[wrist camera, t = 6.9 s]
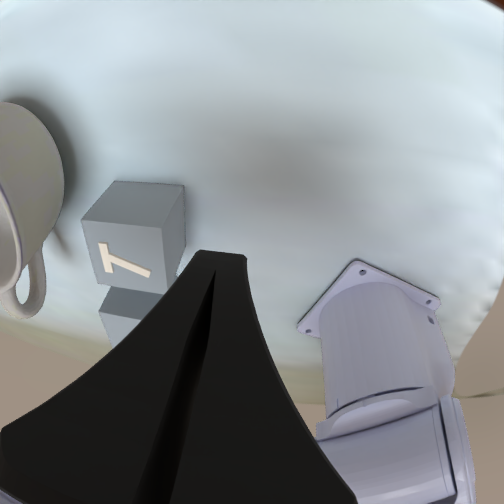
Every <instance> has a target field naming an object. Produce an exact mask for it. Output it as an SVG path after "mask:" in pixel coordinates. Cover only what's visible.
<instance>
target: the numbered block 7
mask: <svg viewBox="0 0 504 504" xmlns="http://www.w3.org/2000/svg"><path fill="white" fill-rule="evenodd" d="M81 223H82V228H83V232H84V236H85V240H86V244H87V248H88V251H89V255H90V259H91V262H92V266H93V269H94V273H95V276H96V279H97V283H98V284H103V285H109V286H114V287H120V288H126V289H132V290H139V291H145V292H151V293H158V294H165V293H166V292H167V291H168V289H169V288H170V287H171V286H172V283H173V280H174V277H175V275H176V272H177V269H178V266H179V263H180V261H181V258H182V255H183V252H184V250H185V247H186V244H185V213H184V185H172V184H159V183H144V182H129V181H114V182H113V183H112V184H111V185H110V187H109V188H108V189H107V190H106V191H105V192H104V193H103V194H102V195H101V197H100V198H99V199H98V200H97V201H96V202H95V204H94V205H93V206H92V207H91V208H90V209H89V211H88V212H87V213H86V214H85V215H84V217H83V218H82V219H81Z"/></svg>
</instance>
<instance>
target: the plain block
mask: <svg viewBox="0 0 504 504" xmlns="http://www.w3.org/2000/svg"><path fill="white" fill-rule="evenodd" d="M177 278H178V276H175V277H174V280H173V283H174V282H175V281H176V279H177ZM173 283H172V284H173ZM163 295H164V294H158V293H151V292H145V291H139V290H132V289H126V288H120V287H114V286H111V288H110V290H109V292H108V293H107V295H106V297H105V299H104V301H103V303H102V306H101V308H100V310H99V315H100V317H101V320H102V322H103V325H104V328H105V330H106V333H107V335H108V338H109V340H110V342H111V345H112V347H113V348H114V347H115V346H116V345H117V344H118V343H120V342H121V341H122V340H123V339H124V338H125V337H126V336H127V335H128V334H129V333H130V332H131V331H132V330H133V329H134V328H135V327H136V326H137V325H138V323H139V322H140V321H141V320H142V319H143V318H144V317H145V316H146V315H147V314H148V313H149V311H150V310H151V309H152V308H153V307H154V306H155V305H156V304H157V303H158V301H159V300H160V299H161V298H162V297H163Z"/></svg>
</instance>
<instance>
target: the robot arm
mask: <svg viewBox="0 0 504 504" xmlns="http://www.w3.org/2000/svg"><path fill="white" fill-rule="evenodd" d="M361 270H364V271H362V272H361ZM440 305H441V301H440V299H439V298H437V297H435V296H433V295H431V294H429V293H427V292H425V291H423V290H420V289H418V288H416V287H414V286H412V285H410V284H408V283H406V282H404V281H402V280H399V279H397V278H395V277H393V276H391V275H389V274H387V273H385V272H382V271H380V270H378V269H376V268H374V267H372V266H369V265H367V264H365V263H363V262H361V261H354V262H352V263H351V264H350V265H349V266H348V267H347V268H346V270H345V271H344V272H343V273H342V274H341V276H340V277H339V278H338V279H337V280H336V281H335V283H334V284H333V285H332V286H331V287H330V288H329V290H328V291H327V292H326V293H325V294H324V295H323V297H322V298H321V299H320V300H319V301H318V302H317V303H316V304H315V306H314V307H313V308H312V309H311V310H310V311H309V312H308V313H307V315H306V316H305V317H304V318H303V319H302V320H301V321H300V322H299V323H298V325H297V331H298V332H300V333H303V334H306V335H309V336H313V337H316V338H319V339H321V348H322V360H323V374H324V388H325V405H326V420H325V421H322V422H318V423H317V424H316V437H313V436H312V434H311V432H310V431H309V429H308V427H307V425H306V424H305V422H304V420H303V419H302V417H301V415H300V413H299V412H298V410H297V408H296V407H295V405H294V403H293V401H292V399H291V397H290V395H289V393H288V391H287V389H286V387H285V385H284V383H283V381H282V379H281V377H280V375H279V373H278V370H277V368H276V366H275V364H274V361H273V359H272V357H271V354H270V352H269V349H268V347H267V344H266V341H265V338H264V336H263V333H262V330H261V327H260V324H259V321H258V318H257V314H256V310H255V307H254V303H253V300H252V295H251V291H250V286H249V281H248V274H247V258H246V257H245V256H244V255H242V254H233V253H225V252H216V251H208V250H199V251H197V252H196V253H195V255H194V256H193V258H192V259H191V261H190V262H189V263H188V265H187V266H186V268H185V269H184V270H183V272H182V273H181V274H180V276H179V277H178V278H177V279H176V281H175V282H174V283H173V284H172V286H171V287H170V288H169V289H168V291H167V292H166V293H165V294H164V295H163V297H162V298H161V299H160V300H159V301H158V303H157V304H156V305H155V306H154V307H153V308H152V309H151V310H150V311H149V313H148V314H147V315H146V316H145V317H144V318H143V319H142V320H141V321H140V322H139V323H138V325H137V326H136V327H135V328H134V329H133V330H132V331H131V332H130V333H129V334H128V335H127V336H126V337H125V338H124V339H123V340H122V341H121V342H120V343H118V344H117V345H116V346H115V347H114V348H113V349H112V350H111V351H110V352H109V353H108V354H107V355H105V356H104V357H103V358H102V359H101V360H100V361H98V362H97V363H96V364H95V365H94V366H93V367H91V368H90V369H89V370H88V371H87V372H85V373H84V374H83V375H82V376H80V377H79V378H78V379H77V380H75V381H74V382H72V383H71V384H70V385H68V386H67V387H66V388H64V389H63V390H61V391H60V392H59V393H57V394H56V395H54V396H53V397H52V398H50V399H49V400H48V401H46V402H44V403H43V404H42V405H40V406H38V407H37V408H35V409H33V410H32V411H30V412H28V413H27V414H25V415H23V416H22V417H20V418H18V419H16V420H15V421H13V422H11V423H9V424H8V425H6V426H4V427H3V428H2V430H1V432H0V504H476V492H475V483H474V482H475V480H476V477H475V470H474V464H473V458H472V453H471V448H470V443H469V438H468V433H467V429H466V424H465V420H464V416H463V412H462V408H461V404H460V400H459V399H456V398H454V397H453V398H452V397H451V395H452V392H453V388H454V383H455V369H454V365H453V362H452V359H451V356H450V353H449V350H448V347H447V344H446V341H445V338H444V336H443V333H442V330H441V327H440V325H439V322H438V319H437V317H436V314H435V312H434V311H435V310H437V309H438V308H439V307H440Z"/></svg>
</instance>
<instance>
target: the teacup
mask: <svg viewBox="0 0 504 504" xmlns="http://www.w3.org/2000/svg"><path fill="white" fill-rule="evenodd" d="M63 198H64V172H63V167H62V161H61V158H60V154H59V151H58V149H57V146H56V144H55V142H54V140H53V138H52V136H51V135H50V133H49V131H48V130H47V128H46V127H45V126H44V124H43V123H42V122H41V121H40V120H39V119H38V118H37V117H36V116H35V115H34V114H33V113H31V112H30V111H29V110H27V109H25V108H24V107H22V106H19V105H17V104H14V103H10V102H0V301H1V304H2V306H3V307H4V309H5V310H6V311H7V312H8V314H9V315H11V316H13V317H15V318H17V319H28V318H30V317H33V316H34V315H36V314H37V313H38V312H39V310H40V309H41V307H42V306H43V303H44V299H45V295H46V273H45V266H44V260H43V254H42V247H43V242H44V240H45V239H46V237H47V236H48V234H49V233H50V231H51V230H52V228H53V226H54V225H55V223H56V221H57V219H58V216H59V214H60V210H61V207H62V203H63ZM27 264H28V269H29V277H30V290H29V296H28V299H27V301H26V302H25V303H24V304H23V305H22V304H21V303H20V302H19V301H18V298H17V296H16V283H17V281H18V280H19V278H20V276H21V273H22V270H23V269H24V268H25V266H26V265H27Z"/></svg>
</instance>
